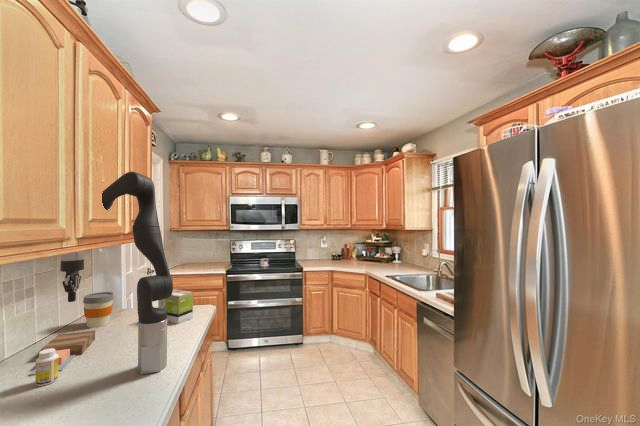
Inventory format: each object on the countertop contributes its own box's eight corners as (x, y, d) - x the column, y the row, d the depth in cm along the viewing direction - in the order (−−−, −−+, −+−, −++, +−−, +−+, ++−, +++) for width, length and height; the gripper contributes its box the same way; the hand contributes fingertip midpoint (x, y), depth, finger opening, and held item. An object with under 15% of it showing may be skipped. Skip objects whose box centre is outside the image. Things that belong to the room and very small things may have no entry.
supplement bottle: (52, 376, 102) (53, 346, 102) (61, 379, 100) (62, 349, 100) (31, 384, 97) (32, 352, 97) (40, 388, 95) (41, 356, 95)
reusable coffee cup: (85, 322, 154) (86, 293, 155) (114, 318, 160) (115, 290, 161) (79, 330, 143) (80, 299, 144) (111, 326, 149) (112, 296, 150)
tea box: (157, 320, 158) (157, 292, 158) (173, 315, 167) (173, 288, 168) (178, 324, 152) (178, 295, 152) (193, 318, 161) (193, 291, 162)
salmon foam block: (61, 364, 109) (61, 357, 109) (40, 367, 107) (40, 360, 107) (70, 355, 117) (70, 348, 117) (50, 357, 114) (51, 351, 115)
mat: (61, 371, 106) (61, 369, 106) (28, 375, 102) (28, 374, 102) (75, 355, 118) (75, 354, 118) (46, 359, 114) (46, 358, 114)
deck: (81, 354, 118) (82, 344, 118) (40, 360, 113) (40, 349, 114) (94, 339, 133) (95, 330, 133) (58, 343, 128) (58, 334, 128)
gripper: (78, 260, 117) (77, 304, 117) (89, 256, 130) (88, 296, 129) (54, 261, 114) (53, 306, 114) (67, 257, 127) (66, 298, 126)
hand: (71, 301), depth 122 cm, fingers closed
